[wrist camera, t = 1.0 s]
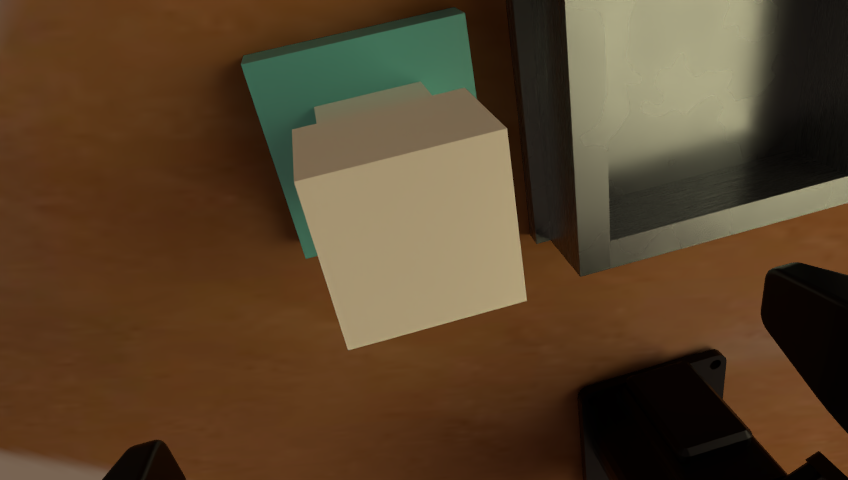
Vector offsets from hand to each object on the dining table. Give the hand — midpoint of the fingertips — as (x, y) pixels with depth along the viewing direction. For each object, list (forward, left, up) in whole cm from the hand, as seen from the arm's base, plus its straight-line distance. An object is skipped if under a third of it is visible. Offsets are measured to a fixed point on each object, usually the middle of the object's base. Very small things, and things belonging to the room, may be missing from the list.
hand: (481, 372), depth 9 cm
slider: (0, 0, -11) cm, 11 cm away
